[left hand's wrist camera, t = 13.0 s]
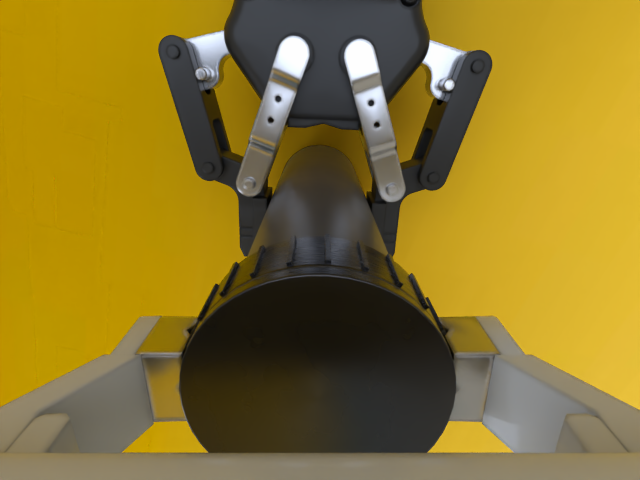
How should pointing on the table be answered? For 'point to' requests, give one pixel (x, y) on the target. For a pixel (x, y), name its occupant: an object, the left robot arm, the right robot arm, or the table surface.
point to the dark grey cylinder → (318, 202)
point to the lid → (317, 355)
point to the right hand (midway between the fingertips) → (317, 262)
